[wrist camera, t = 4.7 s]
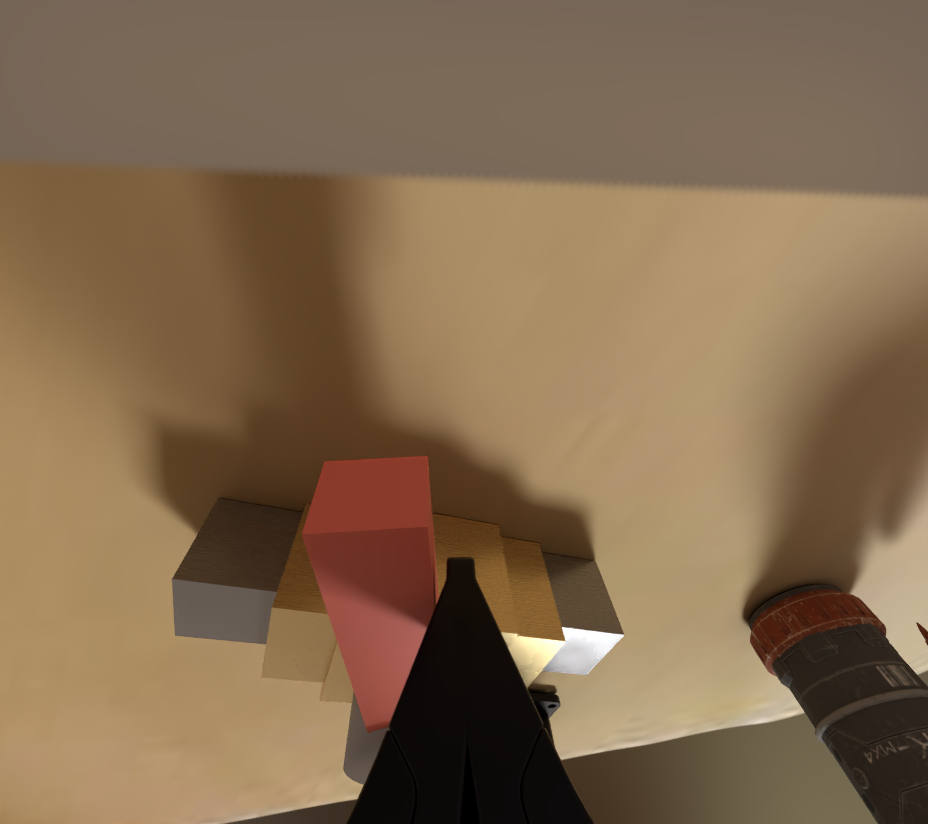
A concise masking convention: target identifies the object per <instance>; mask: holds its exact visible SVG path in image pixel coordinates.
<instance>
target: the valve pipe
mask: <svg viewBox="0 0 928 824" xmlns="http://www.w3.org/2000/svg"><path fill="white" fill-rule="evenodd" d="M310 506H311V504H309V503H306V505H305V509H304V512H298V511H292V510H286V509H280V508H274V507H268V506H262V505H256V504H250V503H244V502H238V501H232V500H226V499H220V498H218V500H217V502H216V503H215V505H214V507H213V509H212V510H211V512H210V514H209V516H208V517H207V519H206V521H205V523H204V524H203V526H202V528H201V530H200V531H199V533H198V535H197V536H196V538H195V540H194V542H193V543H192V545H191V547H190V549H189V550H188V552H187V554H186V556H185V557H184V559H183V561H182V563H181V564H180V566H179V568H178V570H177V571H176V573H175V575H174V577H173V578H172V586H173V605H174V624H175V636H185V637H195V638H206V639H216V640H227V641H237V642H247V643H258V644H266V650H265V656H264V663H263V669H262V676H261V677H262V678H275V679H288V680H300V681H313V682H323V684H322V690H321V695H320V701H334V702H349V703H352V700H353V692H354V690H353V687H352V684H351V681H350V678H349V675H348V672H347V669H346V666H345V663H344V660H343V657H342V654H341V651H340V648H339V645H338V642H337V639H336V636H335V633H334V630H333V627H332V624H331V621H330V618H329V615H328V612H327V609H326V606H325V603H324V600H323V597H322V594H321V591H320V588H319V585H318V582H317V579H316V576H315V573H314V570H313V567H312V564H311V561H310V559H309V556H308V553H307V550H306V547H305V544H304V541H303V538H302V532H303V528H304V525H305V522H306V519H307V516H308V512H309V509H310ZM432 516H433V529H434V542H435V555H436V568H437V581H438V594H439V596H440V594H441V591H442V589H443V586H444V584H445V581H446V561H447V558H449V557H472V558H474V561H475V571H476V579H477V582H478V584H479V586H480V588H481V590H482V592H483V594H484V597H485V599H486V601H487V603H488V605H489V607H490V610H491V612H492V614H493V616H494V618H495V620H496V622H497V625H498V627H499V629H500V631H501V633H502V635H503V638H504V640H505V642H506V644H507V646H508V648H509V650H510V653H511V655H512V657H513V659H514V661H515V663H516V666H517V668H518V670H519V672H520V674H521V676H522V678H523V681H524V683H525V685H526V687H527V688H528V687H529V685H530V684H531V683H532V682H533V681H534V679H535V678H536V677H537V676H538V674H539V673H540V672H541V671H549V672H559V673H570V674H580V675H587V674H588V673H589V672H590V671H591V670H592V669H593V668H594V667H595V666H596V665H597V664H598V662H599V661H600V660H601V659H602V658H603V657H604V656H605V655H606V654H607V653H608V652H609V651H610V650H611V649H612V648H613V647H614V645H615V644H616V643H617V642H618V641H619V640H620V639H621V638H622V637H623V636H624V633H623V630H622V628H621V625H620V622H619V620H618V617H617V615H616V612H615V610H614V607H613V605H612V602H611V599H610V597H609V594H608V592H607V589H606V587H605V584H604V581H603V579H602V576H601V574H600V571H599V569H598V566H597V563H596V561H591V560H585V559H579V558H573V557H567V556H561V555H555V554H549V553H543V552H541V548H540V544H539V543H535V542H529V541H523V540H518V539H512V538H506V537H501V534H500V528H499V525H495V524H489V523H484V522H478V521H472V520H467V519H461V518H456V517H450V516H444V515H439V514H433V513H432Z"/></svg>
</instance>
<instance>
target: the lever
mask: <svg viewBox="0 0 928 824" xmlns="http://www.w3.org/2000/svg"><path fill="white" fill-rule="evenodd" d="M302 538H303V541H304V544H305V547H306V550H307V553H308V556H309V559H310V561H311V564H312V567H313V570H314V573H315V576H316V579H317V582H318V585H319V588H320V591H321V594H322V597H323V600H324V603H325V606H326V609H327V612H328V615H329V618H330V621H331V624H332V627H333V630H334V633H335V636H336V639H337V642H338V645H339V648H340V651H341V654H342V657H343V660H344V663H345V666H346V669H347V672H348V675H349V678H350V681H351V684H352V687H353V690H354V692H353V700H352V707H351V715H350V722H349V729H348V737H347V744H346V752H345V759H344V768H343V769H344V772H345V774H346V775H347V776H348V777H349V778H351V779H352V780H354V781H356V782H358V783H361V784H364V783H365V781H366V779H367V776H368V774H369V772H370V769H371V767H372V765H373V762H374V760H375V758H376V755H377V753H378V750H379V748H380V745H381V743H382V740H383V738H384V735H385V732H386V731H387V730H389V728H388V726H389V723H390V721H391V718H392V715H393V713H394V710H395V708H396V705H397V703H398V700H399V698H400V695H401V693H402V690H403V688H404V685H405V682H406V680H407V677H408V675H409V672H410V670H411V667H412V665H413V662H414V660H415V657H416V655H417V652H418V650H419V647H420V644H421V642H422V639H423V637H424V634H425V632H426V629H427V627H428V624H429V622H430V619H431V617H432V614H433V612H434V609H435V606H436V604H437V601H438V599H439V594H438V581H437V568H436V555H435V542H434V529H433V516H432V504H431V491H430V478H429V465H428V456H413V457H394V458H376V459H358V460H340V461H325V462H324V465H323V468H322V471H321V474H320V478H319V481H318V484H317V487H316V490H315V493H314V497H313V500H312V503H311V506H310V509H309V512H308V516H307V519H306V522H305V525H304V528H303V532H302Z"/></svg>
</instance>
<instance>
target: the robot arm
mask: <svg viewBox="0 0 928 824" xmlns="http://www.w3.org/2000/svg"><path fill="white" fill-rule="evenodd" d="M559 707H560V700H559V697H558V696H557V695H554V694H542V693H530V692H529V691H528V689H527V687H526V685H525V683H524V681H523V678H522V676H521V674H520V672H519V670H518V668H517V666H516V663H515V661H514V659H513V657H512V655H511V653H510V650H509V648H508V646H507V644H506V642H505V640H504V638H503V635H502V633H501V631H500V629H499V627H498V625H497V622H496V620H495V618H494V616H493V614H492V612H491V610H490V607H489V605H488V603H487V601H486V599H485V597H484V594H483V592H482V590H481V588H480V586H479V584H478V582H477V579H476V571H475V561H474V558H472V557H449V558H447V561H446V581H445V584H444V586H443V589H442V591H441V594H440V596H439V599H438V601H437V604H436V606H435V609H434V612H433V614H432V617H431V619H430V622H429V624H428V627H427V629H426V632H425V634H424V637H423V639H422V642H421V644H420V647H419V650H418V652H417V655H416V657H415V660H414V662H413V665H412V667H411V670H410V672H409V675H408V677H407V680H406V682H405V685H404V688H403V690H402V693H401V695H400V698H399V700H398V703H397V705H396V708H395V710H394V713H393V715H392V718H391V721H390V723H389V726H388V728H389V730H387V731H386V732H385V735H384V738H383V740H382V743H381V745H380V748H379V750H378V753H377V755H376V758H375V760H374V762H373V765H372V767H371V769H370V772H369V774H368V776H367V779H366V781H365V783H364V786H363V788H362V790H361V793H360V795H359V797H358V799H357V801H356V803H355V805H354V807H353V809H352V811H351V813H350V816H349V818H348V820H347V822H346V824H594V822H593V820H592V818H591V816H590V815H589V813H588V811H587V809H586V808H585V806H584V804H583V802H582V800H581V798H580V797H579V795H578V793H577V792H576V789H575V788H574V786H573V784H572V782H571V779H570V777H569V775H568V774H567V771H566V769H565V767H564V765H563V764H562V762H561V759H560V757H559V755H558V753H557V751H556V749H555V745H554V740H553V735H552V730H551V726H550V721H549V718H550V717H551V716H552V714H553V713H554V712H555V711H556V710H557V709H558V708H559Z"/></svg>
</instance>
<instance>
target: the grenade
mask: <svg viewBox="0 0 928 824" xmlns="http://www.w3.org/2000/svg"><path fill="white" fill-rule="evenodd" d="M916 624H917V626H918V628H919V630H920V632H921V634H922V635H923V637H924V638H925V640H926V641H925V642H926V643H927V645H928V631H927V630H926V629H925V628H924V627H922V626H921V625H920V624H919V623H916ZM749 627H750V629H751V631H752V632H751V636H750V643H751V645H752V647H753V648H754V650H755V652H756V653H757V655H758V656H759V658H760V659H761V661H762V663H763V664H764V666H765V667H766V669H767V670H768V671H769V673H771V674H773V675H775V676H777V677H778V679H779V680H780V682H781V683H782V684H783V685H785V686H786V687H788V688H789V689H790V690H791V692H792V693H793V695H794V696H795V698H796V700H797V701H798V703H799V704H800V706H801V707H802V709H803V710H804V712H805V713H806V715H807V716H808V718H809V719H810V721H811V722H812V724H813V725H814V727H815V729H816V730H815V735H816V736H817V738H818V740H819V741H820V742H822V743H825V744H826V746H827V747H828V748H829V750H830V752H831V753H832V754H833V755H834V757H835V759H836V760H837V762H838V763H839V765H840V766H841V768H842V769H843V771H844V772H845V773H846V775H847V777H848V779H849V780H850V782H851V783H852V785H853V786H854V788H855V789H856V791H857V792H858V794H859V795H860V797H861V798H862V800H863V802H864V803H865V805H866V806H867V807H868V809H869V811H870V812H871V814H872V815H873V817H874V818H875V820H876V822H877V823H878V824H928V686H927V685H926V684H925V683H924V682H923V681H922V680H921V679H920V678H919V677H918V675H917V674H916V673H915V672H914V671H913V670H912V669H911V667H910V666H909V665H908V664H907V663H906V662H905V661H904V660H903V659H902V657H901V656H900V655H899V654H898V652H897V651H896V650H895V649H894V647H893V646H892V645H891V644H890V643H889V641H888V639H887V638H886V627H885V625H884V624H883V623H882V622H881V621H880V620H879V619H878V618H877V617H876V615H875V614H874V613H873V612H872V611H871V610H870V609H869V608H868V607H867V606H866V605H865V604H864V602H863V601H862V600H860V599H859V598H858V597H856V596H854V595H851V594H847V593H843V592H842V591H841V590H840V589H838V588H836V587H834V586H830V585H810V586H805V587H800V588H797V589H793V590H790V591H787V592H785V593H783V594H780V595H778V596H776V597H774V598H772V599H771V600H769V601H767V602H766V603H765V604H763V605H762V606H761V607H760V608H758V609H757V610H756V611H755V613H754V614H753V615H752V617H751V619H750V622H749Z"/></svg>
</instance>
